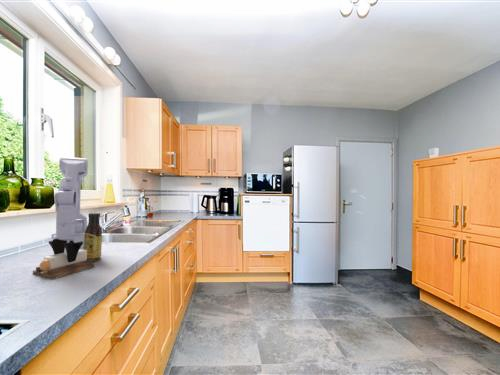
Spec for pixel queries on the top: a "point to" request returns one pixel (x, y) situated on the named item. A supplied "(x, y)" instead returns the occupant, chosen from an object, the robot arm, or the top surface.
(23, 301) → the top surface
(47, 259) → the white post with dome
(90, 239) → the sauce bottle
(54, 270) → the jig
